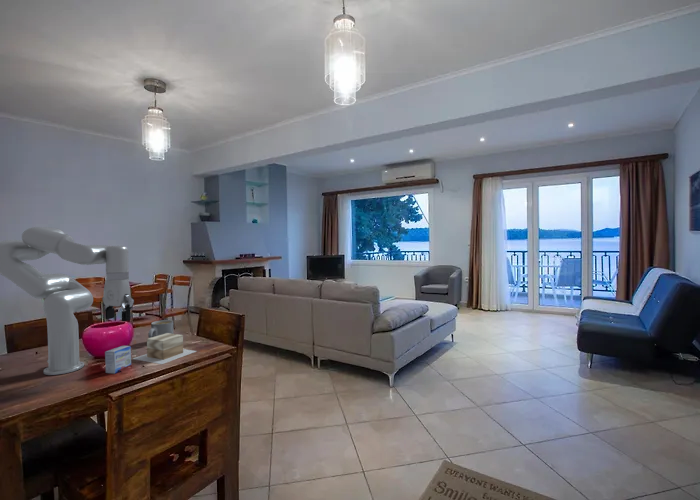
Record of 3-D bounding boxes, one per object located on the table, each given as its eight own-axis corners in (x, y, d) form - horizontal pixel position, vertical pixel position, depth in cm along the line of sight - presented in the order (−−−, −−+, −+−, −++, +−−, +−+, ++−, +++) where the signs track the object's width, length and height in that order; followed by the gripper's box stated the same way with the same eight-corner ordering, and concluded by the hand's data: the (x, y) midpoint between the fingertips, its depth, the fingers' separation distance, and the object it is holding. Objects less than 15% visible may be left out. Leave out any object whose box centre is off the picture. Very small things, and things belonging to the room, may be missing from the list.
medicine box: (114, 374, 133) (114, 351, 133) (105, 373, 134) (104, 351, 134) (131, 366, 141) (131, 345, 141) (122, 366, 142) (121, 345, 142)
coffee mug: (164, 338, 184) (164, 319, 183) (177, 340, 180) (177, 320, 179) (140, 344, 172) (140, 324, 171) (153, 347, 167) (153, 326, 167)
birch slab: (147, 347, 150) (146, 338, 150) (167, 341, 159) (167, 333, 159) (163, 350, 146) (163, 341, 146) (183, 343, 155) (182, 335, 155)
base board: (132, 360, 148) (132, 358, 148) (168, 348, 165) (168, 346, 165) (161, 366, 141) (161, 364, 141) (197, 353, 157) (197, 351, 157)
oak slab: (147, 356, 150) (147, 347, 150) (167, 350, 159) (167, 341, 159) (163, 359, 146) (163, 350, 146) (183, 352, 155) (183, 343, 155)
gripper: (93, 276, 137) (94, 319, 137) (122, 278, 130) (123, 323, 131) (112, 275, 144) (113, 315, 144) (141, 276, 137) (141, 319, 138)
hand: (118, 319), depth 137 cm, fingers open, 9 cm apart
